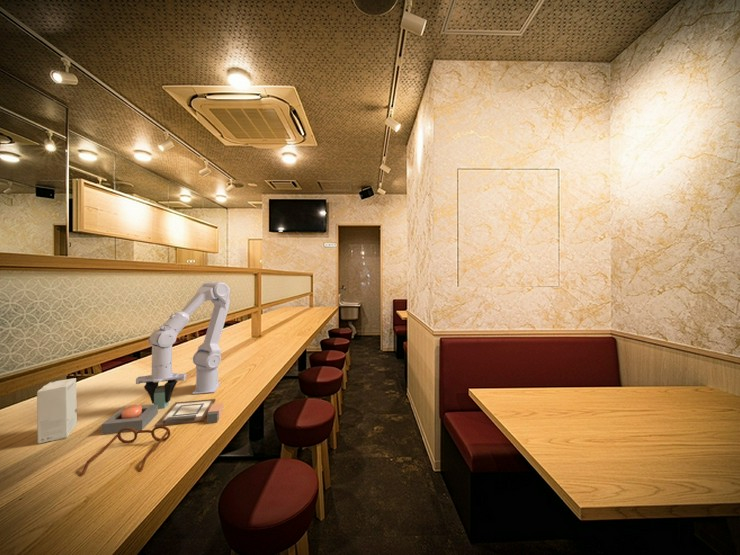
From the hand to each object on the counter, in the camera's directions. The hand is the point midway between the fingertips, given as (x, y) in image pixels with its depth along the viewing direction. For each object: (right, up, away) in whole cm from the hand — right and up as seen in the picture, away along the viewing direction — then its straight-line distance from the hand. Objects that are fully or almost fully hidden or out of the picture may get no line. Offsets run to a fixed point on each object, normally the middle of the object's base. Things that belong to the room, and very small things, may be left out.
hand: (161, 401), depth 97 cm
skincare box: (-17, -2, -17) cm, 24 cm away
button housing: (-1, -2, -11) cm, 11 cm away
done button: (-1, 0, -11) cm, 11 cm away
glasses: (+11, -3, -26) cm, 28 cm away
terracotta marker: (+22, -3, -6) cm, 23 cm away
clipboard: (+12, -2, -3) cm, 12 cm away
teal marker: (0, -2, 0) cm, 2 cm away
